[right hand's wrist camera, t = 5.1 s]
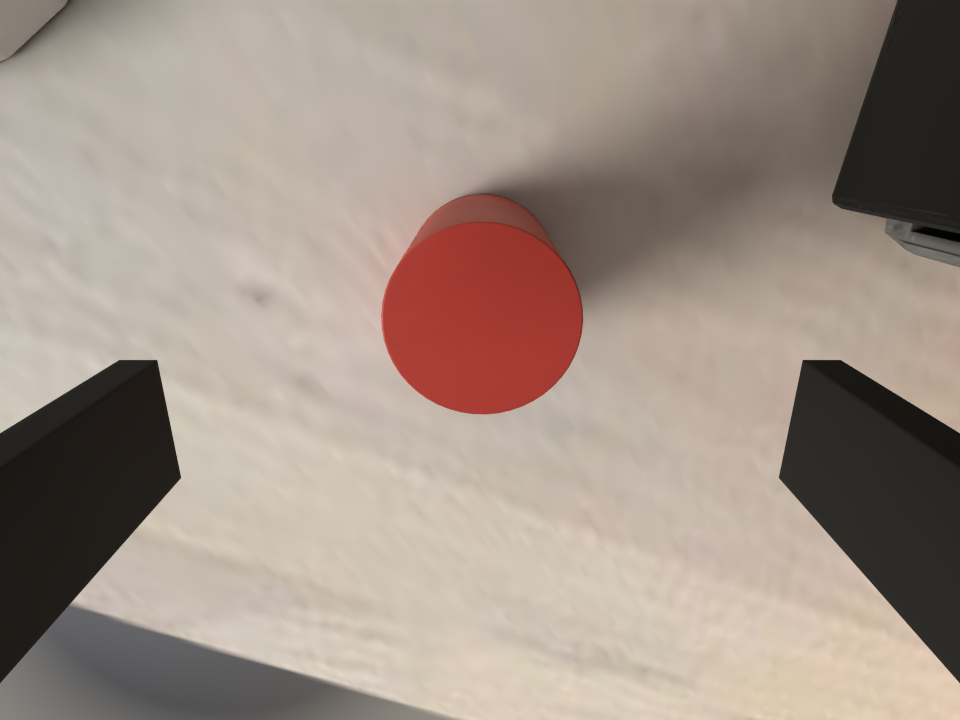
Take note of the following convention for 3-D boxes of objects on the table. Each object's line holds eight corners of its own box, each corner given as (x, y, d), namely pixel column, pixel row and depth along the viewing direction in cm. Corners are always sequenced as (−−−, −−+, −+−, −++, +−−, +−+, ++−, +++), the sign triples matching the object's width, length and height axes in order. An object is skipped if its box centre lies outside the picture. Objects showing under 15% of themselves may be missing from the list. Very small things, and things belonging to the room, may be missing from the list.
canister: (396, 207, 24) (359, 241, 17) (543, 182, 24) (570, 204, 16) (426, 345, 26) (404, 427, 19) (561, 323, 26) (593, 399, 19)
